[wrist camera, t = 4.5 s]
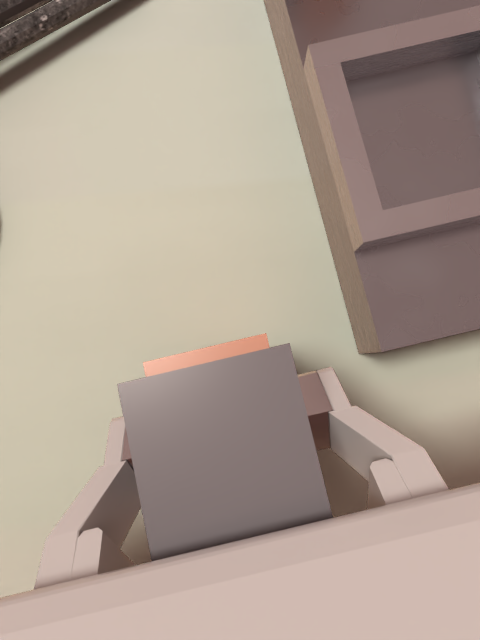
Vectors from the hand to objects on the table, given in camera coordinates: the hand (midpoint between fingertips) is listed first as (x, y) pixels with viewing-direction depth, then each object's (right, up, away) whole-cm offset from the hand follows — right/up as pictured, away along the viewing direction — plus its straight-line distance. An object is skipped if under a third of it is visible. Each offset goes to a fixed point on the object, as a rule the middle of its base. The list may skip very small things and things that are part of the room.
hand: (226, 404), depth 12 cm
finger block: (0, -1, +5) cm, 5 cm away
